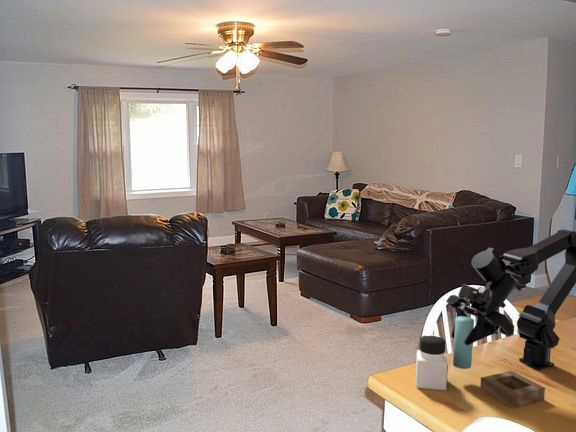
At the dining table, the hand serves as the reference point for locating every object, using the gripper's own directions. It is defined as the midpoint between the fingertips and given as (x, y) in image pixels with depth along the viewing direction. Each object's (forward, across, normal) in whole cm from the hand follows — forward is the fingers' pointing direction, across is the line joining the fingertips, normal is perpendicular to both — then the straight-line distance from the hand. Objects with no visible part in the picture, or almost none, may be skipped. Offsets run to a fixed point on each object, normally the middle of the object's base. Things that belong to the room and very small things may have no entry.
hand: (459, 340), depth 134 cm
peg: (+4, 0, +6) cm, 7 cm away
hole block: (+2, +10, +13) cm, 17 cm away
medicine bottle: (+12, -2, +3) cm, 13 cm away
